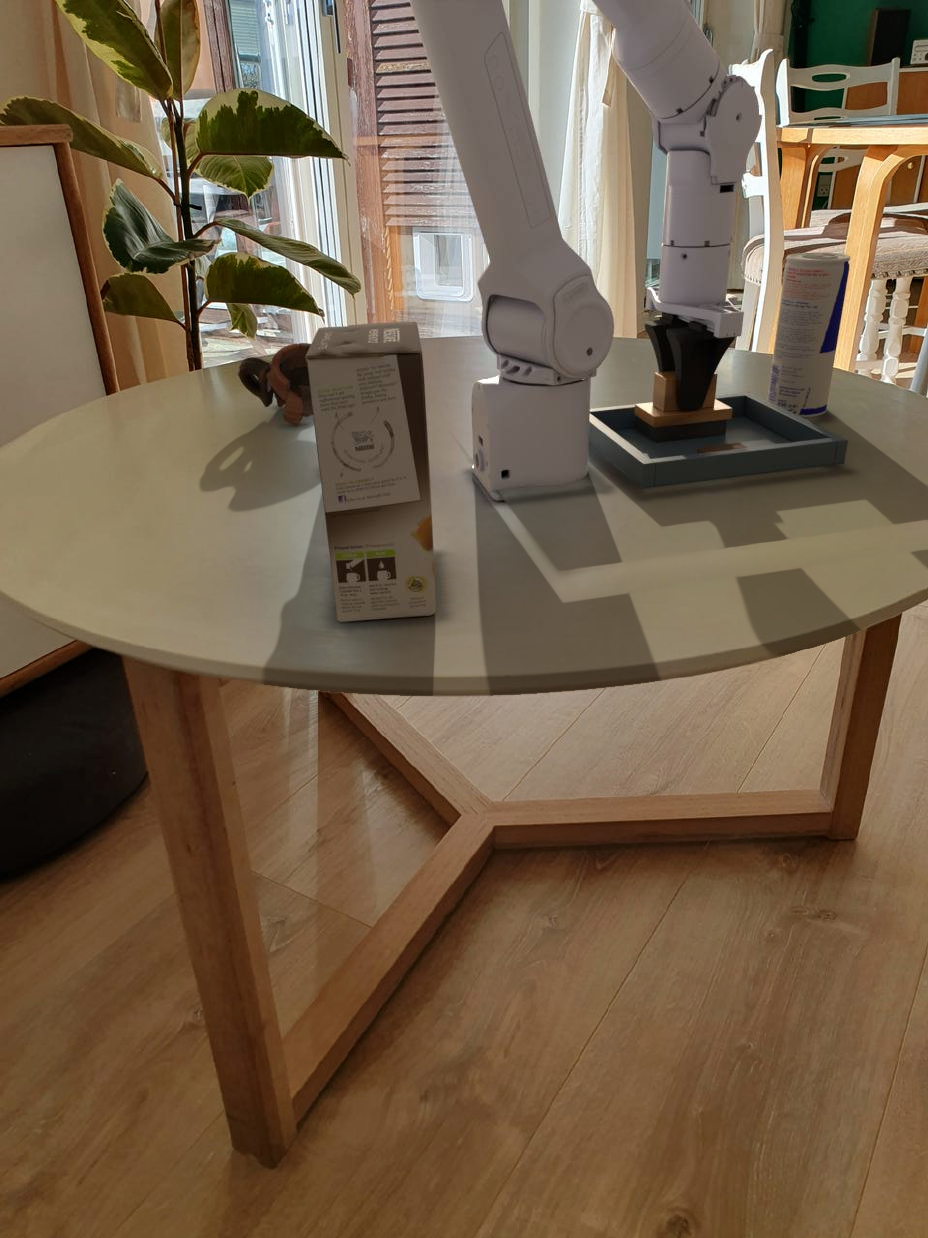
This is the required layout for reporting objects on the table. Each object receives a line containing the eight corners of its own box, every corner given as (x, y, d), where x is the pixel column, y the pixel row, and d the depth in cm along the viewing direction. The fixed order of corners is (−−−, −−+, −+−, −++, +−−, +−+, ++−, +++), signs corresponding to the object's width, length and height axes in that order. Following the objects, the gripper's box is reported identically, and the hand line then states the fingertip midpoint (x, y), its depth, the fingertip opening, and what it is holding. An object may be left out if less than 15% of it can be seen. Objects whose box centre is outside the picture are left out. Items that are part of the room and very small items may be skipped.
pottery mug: (353, 402, 100) (359, 345, 93) (335, 462, 95) (339, 406, 88) (248, 377, 99) (246, 318, 92) (224, 437, 94) (220, 378, 87)
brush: (652, 444, 79) (656, 382, 76) (633, 430, 83) (636, 371, 80) (729, 435, 80) (736, 374, 78) (707, 421, 84) (713, 363, 81)
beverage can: (829, 425, 84) (857, 258, 77) (768, 423, 86) (790, 258, 78) (820, 408, 89) (846, 250, 82) (763, 407, 90) (783, 251, 83)
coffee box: (440, 617, 54) (424, 350, 46) (335, 624, 54) (302, 357, 46) (432, 554, 62) (418, 318, 54) (341, 560, 62) (314, 324, 54)
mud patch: (718, 473, 72) (719, 461, 71) (695, 458, 75) (696, 447, 75) (762, 468, 73) (763, 456, 72) (738, 453, 76) (739, 442, 75)
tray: (641, 497, 70) (643, 463, 69) (574, 439, 84) (574, 410, 82) (843, 472, 73) (849, 439, 72) (746, 419, 87) (750, 391, 86)
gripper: (786, 249, 68) (763, 421, 75) (700, 232, 81) (687, 381, 87) (702, 255, 67) (687, 429, 73) (628, 237, 79) (620, 387, 86)
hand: (682, 404), depth 80 cm, fingers closed on brush, 2 cm apart
